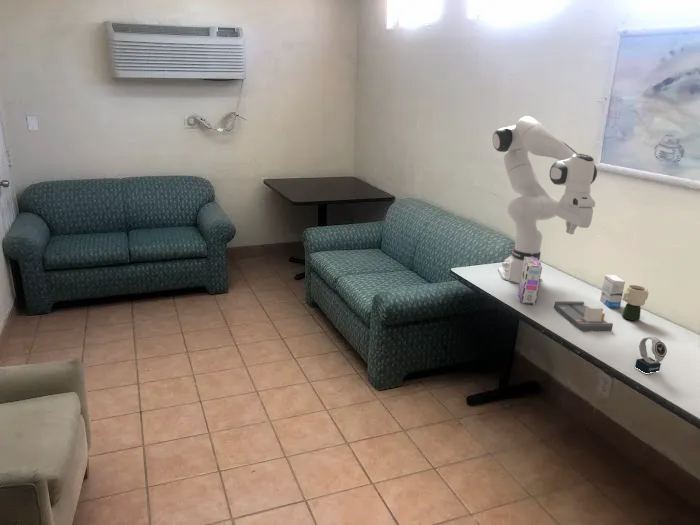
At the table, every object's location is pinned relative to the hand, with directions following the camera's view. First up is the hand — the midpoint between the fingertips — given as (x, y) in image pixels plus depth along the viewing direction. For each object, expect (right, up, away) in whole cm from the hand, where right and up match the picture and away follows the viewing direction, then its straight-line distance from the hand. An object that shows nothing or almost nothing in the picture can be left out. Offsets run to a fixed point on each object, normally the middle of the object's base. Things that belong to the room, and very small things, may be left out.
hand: (569, 233), depth 213 cm
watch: (+9, -46, -38) cm, 60 cm away
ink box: (+23, -29, +17) cm, 41 cm away
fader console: (+4, -33, 0) cm, 33 cm away
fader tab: (+5, -33, -8) cm, 34 cm away
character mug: (+25, -34, +3) cm, 42 cm away
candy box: (-11, -27, +18) cm, 34 cm away
